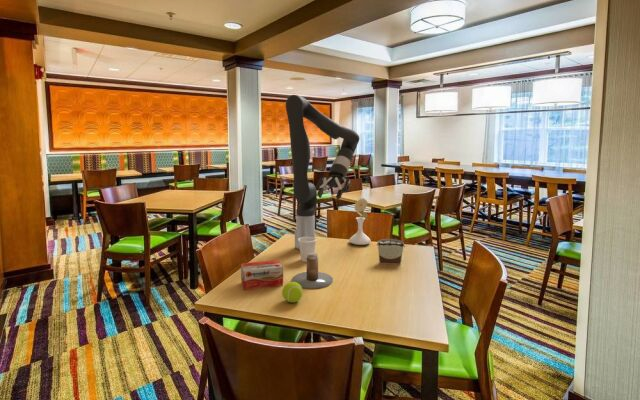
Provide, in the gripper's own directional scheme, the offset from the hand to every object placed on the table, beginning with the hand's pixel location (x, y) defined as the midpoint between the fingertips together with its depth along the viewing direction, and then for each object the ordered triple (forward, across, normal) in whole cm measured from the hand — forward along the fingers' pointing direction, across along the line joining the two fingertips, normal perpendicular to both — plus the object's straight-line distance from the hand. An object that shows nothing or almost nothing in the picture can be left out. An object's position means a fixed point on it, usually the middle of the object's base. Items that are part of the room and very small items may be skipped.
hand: (328, 197), depth 164 cm
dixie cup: (+20, -12, +24) cm, 33 cm away
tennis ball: (+48, +5, -5) cm, 49 cm away
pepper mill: (+34, +2, +9) cm, 35 cm away
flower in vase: (-6, 0, +50) cm, 50 cm away
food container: (+8, +22, +36) cm, 43 cm away
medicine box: (+43, -14, +1) cm, 45 cm away
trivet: (+34, +2, +9) cm, 35 cm away
